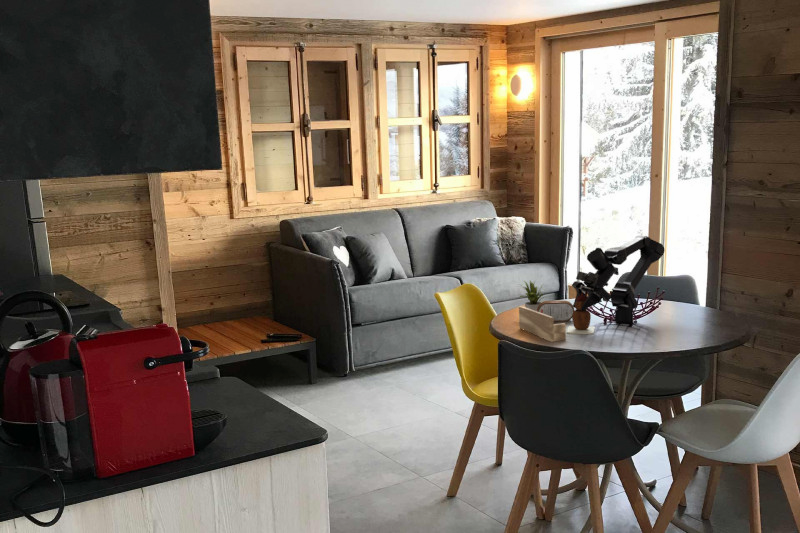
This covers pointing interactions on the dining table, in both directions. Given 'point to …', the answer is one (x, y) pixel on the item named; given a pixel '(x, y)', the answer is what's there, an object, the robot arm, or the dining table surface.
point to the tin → (557, 310)
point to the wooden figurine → (581, 314)
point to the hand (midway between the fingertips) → (577, 308)
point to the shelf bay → (541, 325)
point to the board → (575, 331)
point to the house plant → (532, 296)
